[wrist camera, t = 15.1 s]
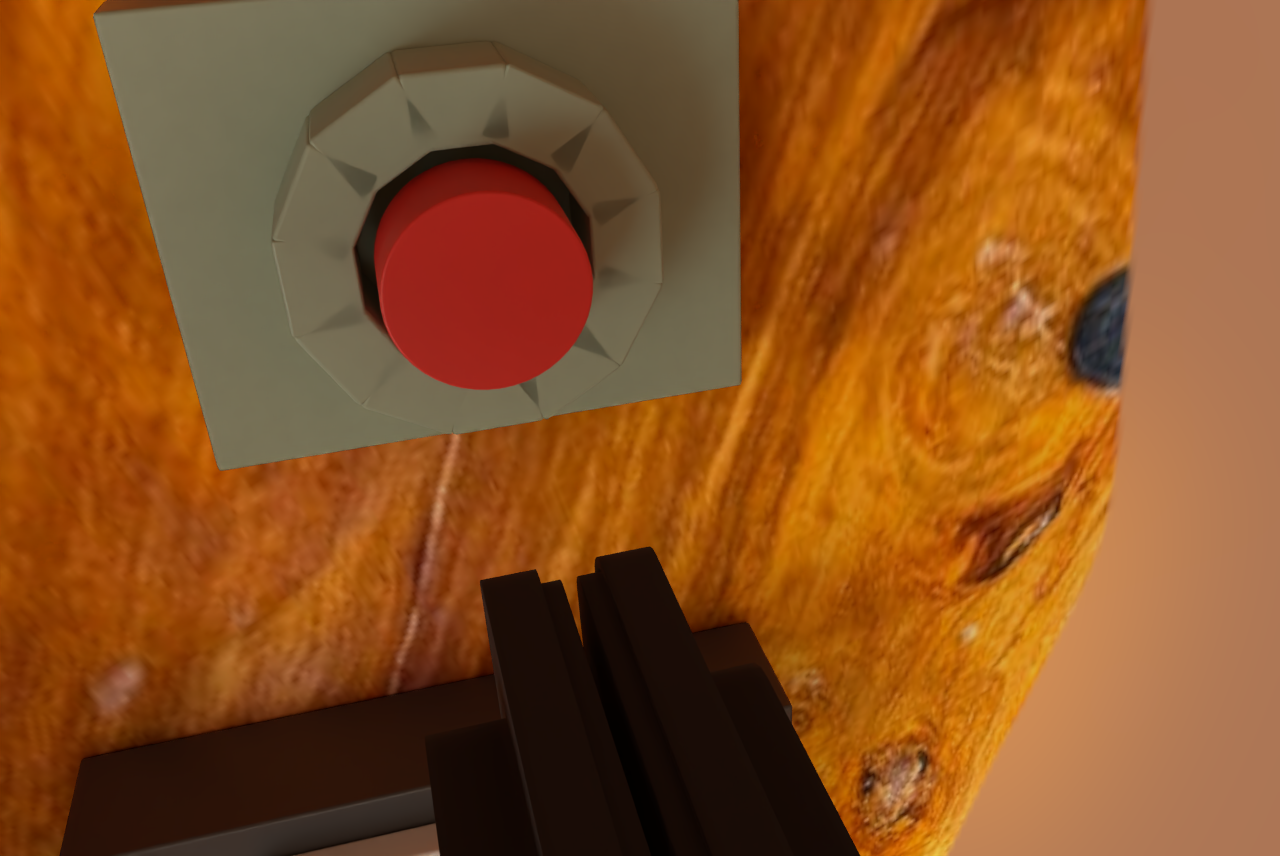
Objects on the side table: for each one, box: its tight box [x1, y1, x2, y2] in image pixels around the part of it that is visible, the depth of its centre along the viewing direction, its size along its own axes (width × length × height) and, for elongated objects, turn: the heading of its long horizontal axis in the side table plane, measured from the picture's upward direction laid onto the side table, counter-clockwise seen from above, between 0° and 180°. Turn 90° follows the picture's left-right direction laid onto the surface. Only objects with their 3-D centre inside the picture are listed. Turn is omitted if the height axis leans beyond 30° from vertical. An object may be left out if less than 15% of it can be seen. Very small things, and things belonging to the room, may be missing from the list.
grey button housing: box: [93, 0, 742, 471], centre depth 20 cm, size 10×8×3 cm
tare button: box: [374, 158, 593, 390], centre depth 18 cm, size 3×3×2 cm
